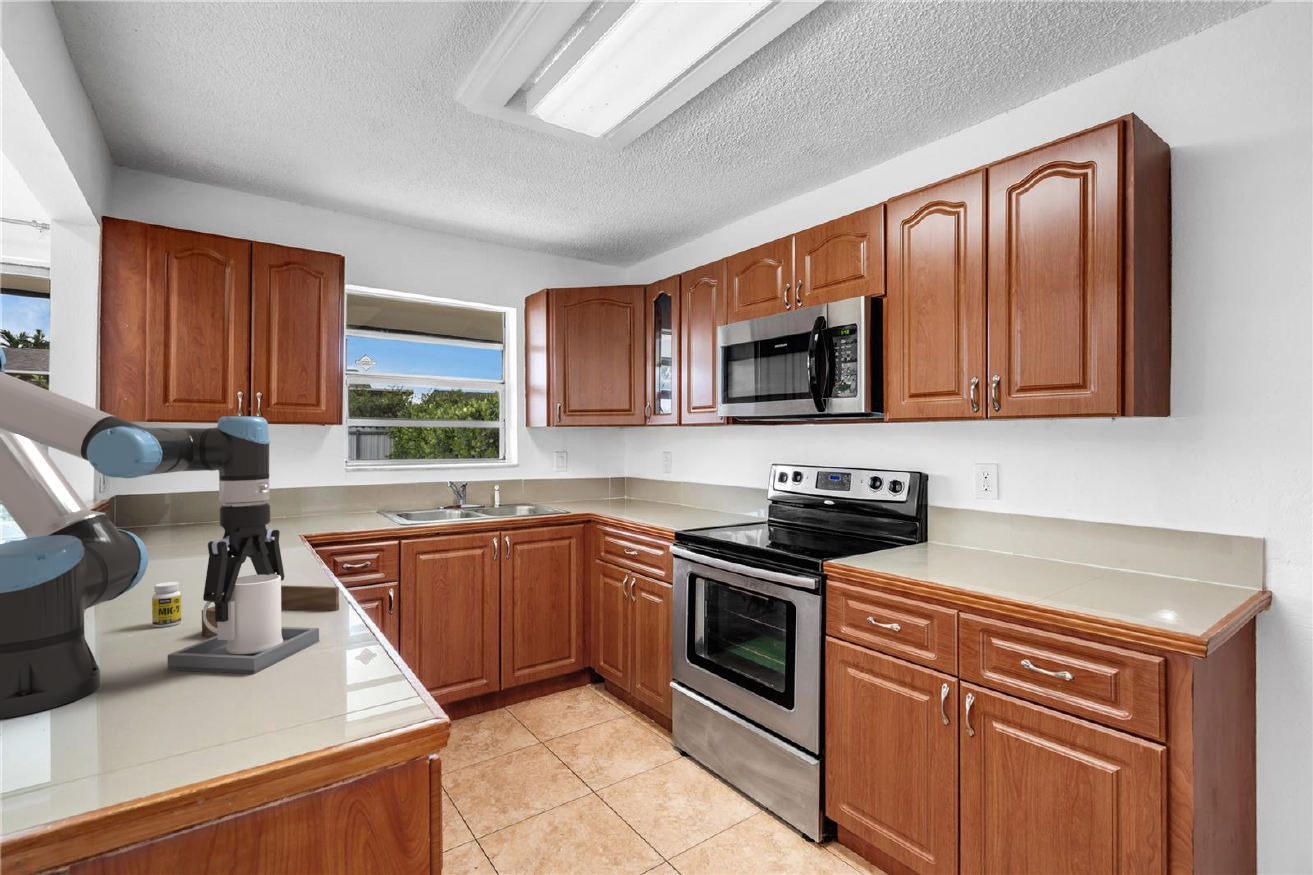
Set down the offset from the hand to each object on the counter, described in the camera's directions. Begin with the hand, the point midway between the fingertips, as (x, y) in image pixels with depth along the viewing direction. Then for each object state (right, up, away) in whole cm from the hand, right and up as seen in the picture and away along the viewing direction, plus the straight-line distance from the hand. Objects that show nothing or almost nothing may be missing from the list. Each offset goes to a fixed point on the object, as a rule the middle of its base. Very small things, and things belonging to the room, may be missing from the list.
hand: (247, 630), depth 113 cm
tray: (0, -4, 0) cm, 4 cm away
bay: (-6, -4, +20) cm, 21 cm away
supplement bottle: (-29, -5, +19) cm, 34 cm away
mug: (0, -3, -1) cm, 3 cm away
